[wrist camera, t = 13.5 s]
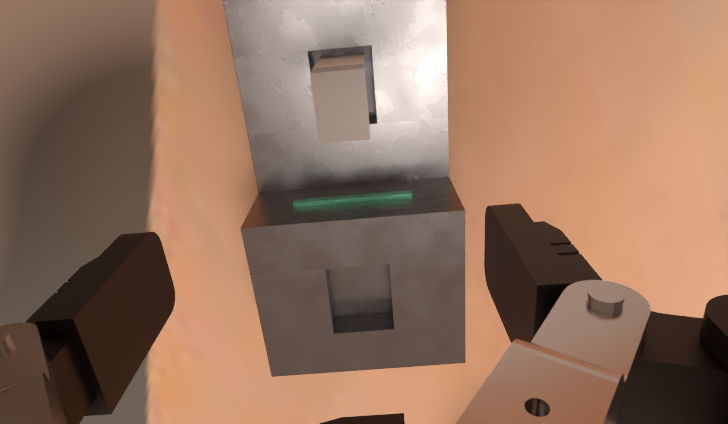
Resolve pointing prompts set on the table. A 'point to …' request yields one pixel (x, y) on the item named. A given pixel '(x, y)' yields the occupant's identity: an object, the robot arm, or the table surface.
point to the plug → (340, 98)
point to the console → (351, 188)
